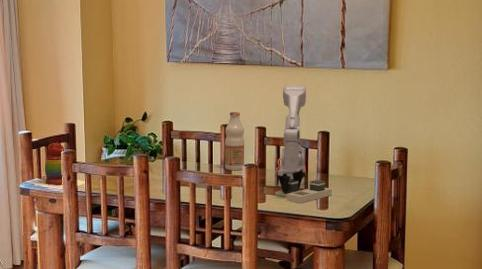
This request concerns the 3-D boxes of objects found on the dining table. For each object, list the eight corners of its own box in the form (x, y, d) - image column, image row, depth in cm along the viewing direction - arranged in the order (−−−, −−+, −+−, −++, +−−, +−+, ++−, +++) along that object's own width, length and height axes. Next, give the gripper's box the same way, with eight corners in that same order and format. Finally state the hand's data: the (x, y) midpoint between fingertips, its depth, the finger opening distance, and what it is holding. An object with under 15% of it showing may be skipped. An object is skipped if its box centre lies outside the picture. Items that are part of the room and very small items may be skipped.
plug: (283, 194, 285) (283, 180, 284) (290, 192, 288) (290, 178, 287) (291, 196, 282) (291, 181, 281) (298, 194, 285) (298, 180, 284)
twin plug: (309, 195, 283) (310, 181, 282) (316, 194, 286) (316, 179, 285) (318, 197, 280) (318, 182, 279) (324, 195, 283) (324, 181, 282)
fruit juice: (221, 169, 340) (221, 112, 336) (230, 166, 348) (231, 111, 344) (238, 171, 336) (238, 113, 332) (247, 168, 344) (247, 112, 340)
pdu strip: (286, 201, 274) (286, 193, 274) (317, 193, 289) (318, 186, 288) (300, 204, 270) (300, 196, 269) (331, 196, 284) (331, 189, 283)
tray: (275, 195, 285) (275, 192, 284) (289, 192, 291) (289, 188, 291) (292, 199, 278) (292, 195, 278) (306, 196, 285) (306, 192, 285)
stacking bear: (59, 185, 300) (58, 145, 298) (39, 183, 304) (38, 143, 301) (73, 181, 310) (72, 141, 308) (54, 179, 314) (53, 140, 311)
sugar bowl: (306, 178, 320) (307, 156, 318) (276, 178, 320) (276, 156, 319) (304, 173, 332) (305, 152, 331) (275, 173, 332) (275, 152, 331)
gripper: (287, 161, 275) (286, 194, 276) (310, 157, 285) (309, 189, 287) (274, 159, 279) (273, 192, 281) (297, 154, 290) (296, 186, 292)
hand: (290, 190), depth 284 cm, fingers open, 7 cm apart
